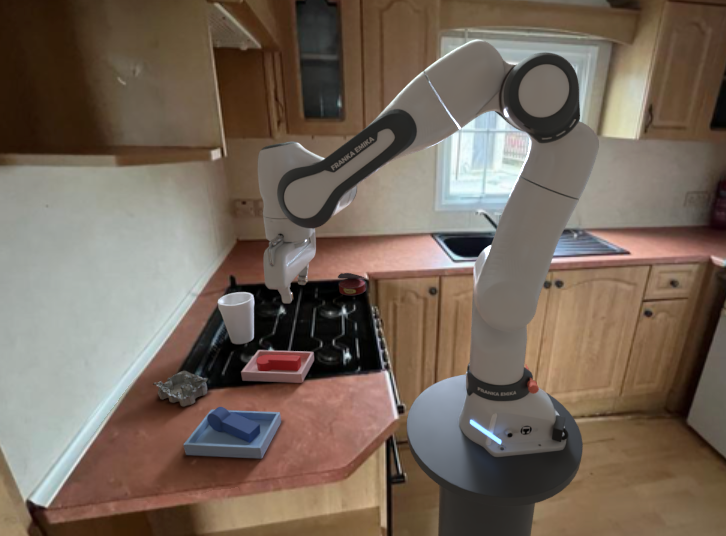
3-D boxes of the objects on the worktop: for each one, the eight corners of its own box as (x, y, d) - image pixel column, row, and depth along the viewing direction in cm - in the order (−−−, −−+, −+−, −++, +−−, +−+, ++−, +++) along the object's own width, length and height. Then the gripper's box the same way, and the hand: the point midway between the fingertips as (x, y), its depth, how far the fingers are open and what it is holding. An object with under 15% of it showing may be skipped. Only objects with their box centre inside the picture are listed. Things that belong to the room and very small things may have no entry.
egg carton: (154, 397, 96) (150, 382, 95) (183, 380, 102) (179, 366, 101) (185, 410, 92) (181, 394, 90) (213, 390, 98) (210, 376, 97)
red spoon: (302, 363, 108) (301, 353, 107) (296, 373, 104) (295, 363, 103) (261, 361, 108) (260, 352, 107) (254, 371, 104) (252, 361, 103)
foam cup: (220, 338, 122) (213, 298, 117) (251, 327, 128) (245, 289, 123) (232, 350, 115) (225, 308, 111) (264, 339, 121) (258, 299, 116)
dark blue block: (250, 446, 82) (260, 436, 84) (248, 430, 80) (259, 420, 83) (208, 427, 85) (219, 418, 88) (206, 410, 84) (217, 401, 86)
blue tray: (281, 421, 88) (280, 412, 87) (262, 458, 79) (260, 448, 78) (213, 418, 89) (211, 409, 88) (185, 455, 80) (183, 444, 79)
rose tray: (314, 360, 111) (313, 351, 110) (302, 383, 101) (301, 374, 100) (259, 358, 112) (258, 349, 111) (242, 380, 102) (240, 371, 101)
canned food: (339, 302, 155) (328, 279, 154) (359, 292, 162) (348, 269, 161) (355, 297, 147) (343, 272, 146) (375, 286, 154) (363, 262, 153)
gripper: (285, 243, 71) (293, 315, 76) (318, 216, 90) (323, 275, 95) (249, 243, 71) (260, 314, 76) (290, 216, 91) (297, 274, 95)
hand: (296, 292), depth 86 cm, fingers open, 8 cm apart
